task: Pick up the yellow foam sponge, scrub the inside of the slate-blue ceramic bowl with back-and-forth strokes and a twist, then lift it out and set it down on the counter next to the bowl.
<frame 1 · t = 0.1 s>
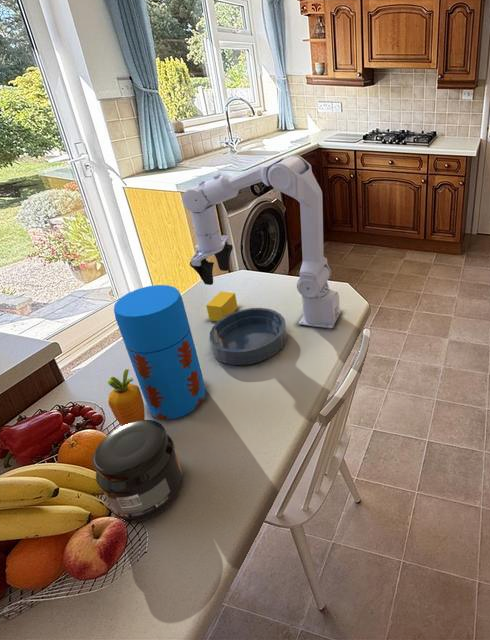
hand: (216, 276, 111), 10 cm above the countertop, tool pointing down, fingers open, 7 cm apart
bowl: (250, 342, 102), on the countertop
supplement container: (150, 493, 68), on the countertop
thermos: (178, 400, 85), on the countertop
carrot: (139, 434, 78), on the countertop
sponge: (224, 314, 112), on the countertop
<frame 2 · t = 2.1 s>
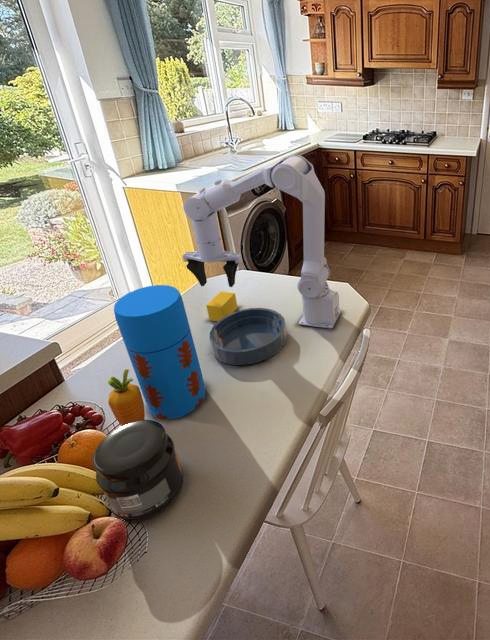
hand: (218, 284, 109), 9 cm above the countertop, tool pointing down, fingers open, 7 cm apart
nothing on the countertop moved.
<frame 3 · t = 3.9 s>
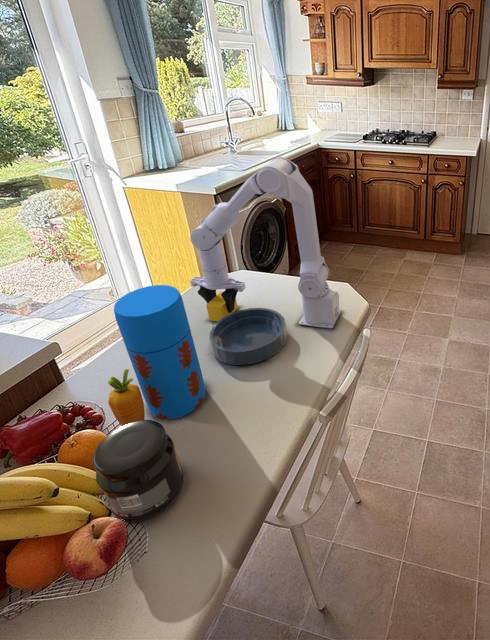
hand: (223, 309, 112), 1 cm above the countertop, tool pointing down, fingers closed on sponge, 4 cm apart
sponge: (223, 314, 112), on the countertop, touching gripper
everything else where it was.
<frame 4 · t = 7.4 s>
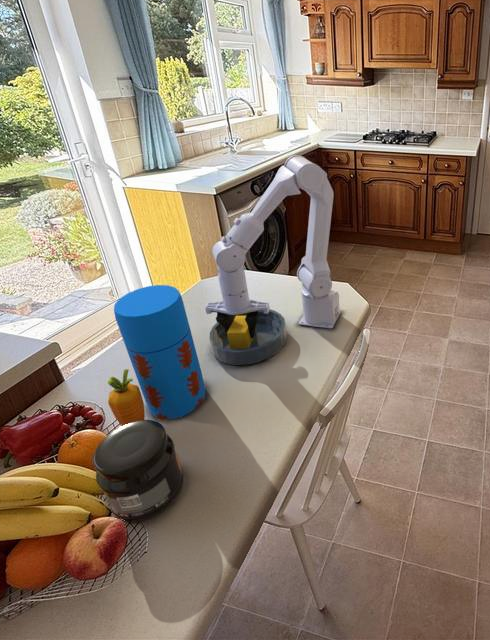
hand: (243, 335, 101), 2 cm above the countertop, tool pointing down, fingers closed on sponge, 4 cm apart
sponge: (243, 340, 102), point 1 cm above the countertop, touching bowl, gripper
everything else where it was.
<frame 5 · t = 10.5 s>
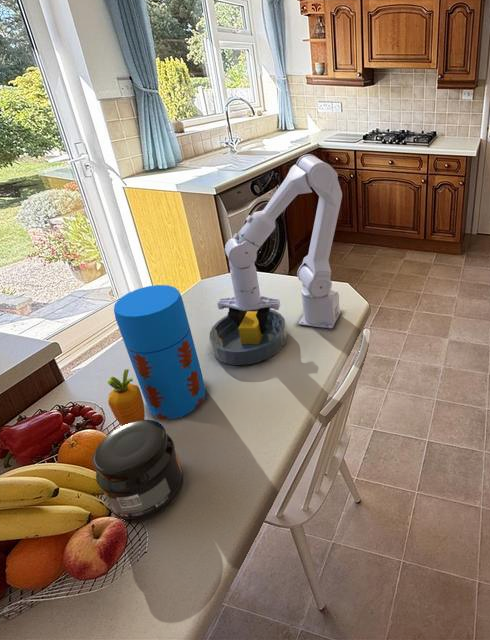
hand: (253, 331, 103), 2 cm above the countertop, tool pointing down, fingers closed on sponge, 4 cm apart
sponge: (254, 335, 104), point 1 cm above the countertop, touching gripper
everything else where it was.
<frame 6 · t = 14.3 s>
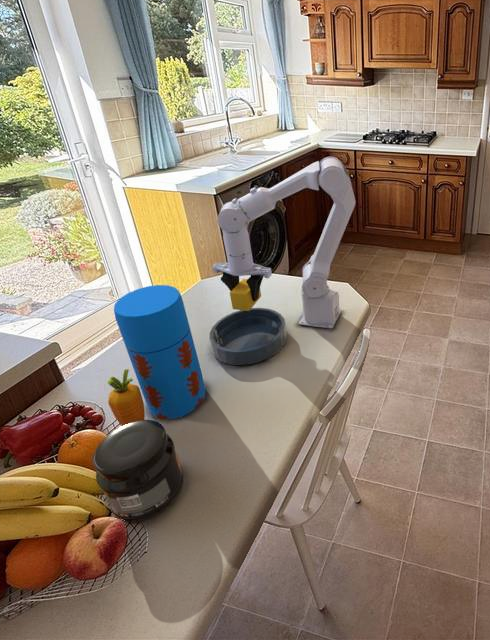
hand: (247, 298, 105), 8 cm above the countertop, tool pointing down, fingers closed on sponge, 4 cm apart
sponge: (247, 302, 105), point 7 cm above the countertop, touching gripper
everything else where it was.
when the fingers open (1 cm above the countertop, at t = 17.4 s): sponge stays where it is, on the countertop.
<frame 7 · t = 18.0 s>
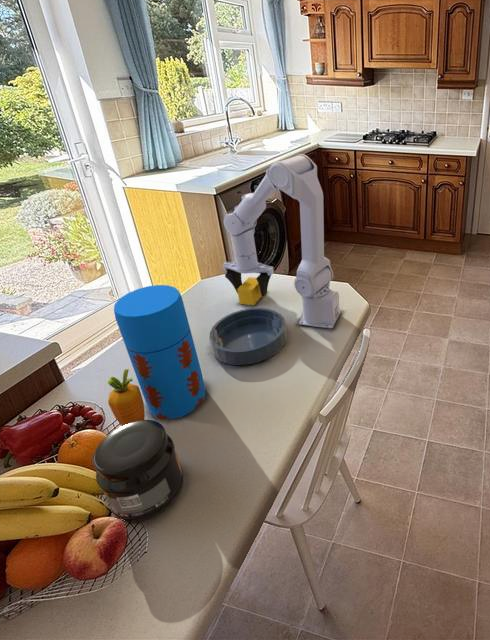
hand: (252, 293, 119), 2 cm above the countertop, tool pointing down, fingers open, 7 cm apart
sponge: (252, 298, 120), on the countertop
everything else where it was.
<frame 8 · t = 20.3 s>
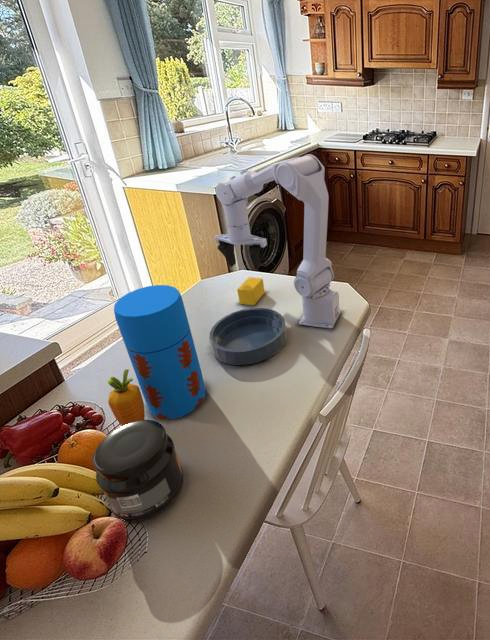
hand: (245, 266, 118), 9 cm above the countertop, tool pointing down, fingers open, 7 cm apart
nothing on the countertop moved.
at the end: sponge 0.1 cm from the target spot, on the countertop; sponge tilted 0°; the gripper is holding nothing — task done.
